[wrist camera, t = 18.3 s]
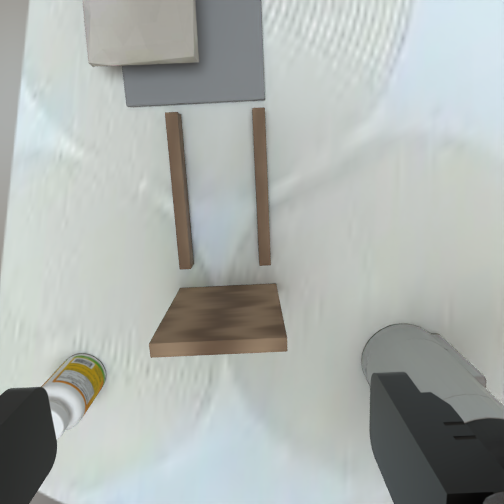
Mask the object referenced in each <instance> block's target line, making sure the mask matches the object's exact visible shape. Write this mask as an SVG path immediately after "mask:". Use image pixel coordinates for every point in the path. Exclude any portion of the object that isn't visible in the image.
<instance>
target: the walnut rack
mask: <svg viewBox="0 0 504 504" xmlns="http://www.w3.org/2000/svg"><path fill="white" fill-rule="evenodd" d="M252 114H253V136H254V158H255V180H256V202H257V224H258V245H259V264H260V266H264V265H271V258H270V232H269V206H268V181H267V155H266V129H265V108H252ZM165 118H166V129H167V140H168V150H169V161H170V171H171V182H172V193H173V203H174V214H175V225H176V235H177V246H178V256H179V267H180V269H191V268H192V266H193V264H194V260H193V249H192V237H191V225H190V213H189V202H188V190H187V178H186V167H185V155H184V143H183V131H182V120H181V114H179V113H178V112H169V113H165ZM149 348H150V357H151V358H152V357H174V356H196V355H218V354H240V353H262V352H284V351H287V335H286V330H285V325H284V320H283V316H282V311H281V306H280V301H279V296H278V291H277V286H276V284H255V285H234V286H213V287H191V288H180V289H179V291H178V293H177V295H176V296H175V298H174V300H173V302H172V304H171V305H170V307H169V309H168V311H167V312H166V314H165V316H164V318H163V320H162V321H161V323H160V325H159V327H158V329H157V330H156V332H155V334H154V336H153V338H152V339H151V341H150V343H149Z"/></svg>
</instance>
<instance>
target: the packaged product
mask: <svg viewBox="0 0 504 504" xmlns="http://www.w3.org/2000/svg"><path fill="white" fill-rule="evenodd" d="M83 11H84V22H85V32H86V42H87V52H88V62H89V64H90V65H92V66H93V67H94V66H123V65H149V64H172V63H193V62H199V53H198V36H197V20H196V2H195V0H83Z"/></svg>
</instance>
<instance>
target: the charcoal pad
mask: <svg viewBox="0 0 504 504" xmlns="http://www.w3.org/2000/svg"><path fill="white" fill-rule="evenodd" d="M195 2H196V20H197V36H198V53H199V62H193V63H172V64H149V65H123V66H122V70H123V79H124V88H125V97H126V105H127V106H128V107H141V106H160V105H180V104H199V103H219V102H238V101H258V100H265V92H264V66H263V40H262V14H261V0H195Z"/></svg>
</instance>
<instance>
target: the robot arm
mask: <svg viewBox="0 0 504 504" xmlns="http://www.w3.org/2000/svg"><path fill="white" fill-rule="evenodd" d="M362 369H363V372H364V375H365V377H366V379H367V381H368V383H369V385H370V440H371V446H372V450H373V454H374V457H375V459H376V462H377V464H378V466H379V469H380V471H381V474H382V476H383V478H384V481H385V483H386V486H387V488H388V490H389V493H390V495H391V498H392V500H393V502H394V504H504V406H503V405H502V404H501V403H500V402H499V401H498V400H497V399H496V398H495V397H494V396H493V395H492V394H491V393H490V392H489V391H488V390H487V389H486V378H485V376H484V375H483V374H482V373H480V372H479V371H478V370H477V369H476V368H475V367H474V366H473V365H472V364H471V363H470V362H468V361H467V360H466V359H465V358H464V357H463V356H462V355H461V354H460V353H459V352H458V351H457V350H455V349H454V348H453V347H452V346H451V345H450V344H449V343H448V342H447V341H446V340H445V339H444V338H442V337H441V336H440V335H439V334H430V333H428V332H427V331H425V330H424V329H422V328H420V327H418V326H415V325H410V324H396V325H392V326H389V327H386V328H384V329H382V330H380V331H379V332H378V333H376V334H375V335H374V336H373V337H372V338H371V339H370V340H369V342H368V343H367V345H366V346H365V349H364V351H363V354H362ZM56 452H57V440H56V434H55V429H54V424H53V418H52V413H51V408H50V402H49V397H48V394H47V391H46V390H45V389H44V388H43V387H29V388H10V389H8V390H6V391H5V392H4V393H3V394H1V395H0V504H29V503H30V501H31V500H32V498H33V497H34V495H35V494H36V492H37V491H38V489H39V488H40V486H41V484H42V483H43V481H44V480H45V478H46V477H47V475H48V474H49V472H50V470H51V469H52V466H53V464H54V461H55V458H56Z"/></svg>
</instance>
